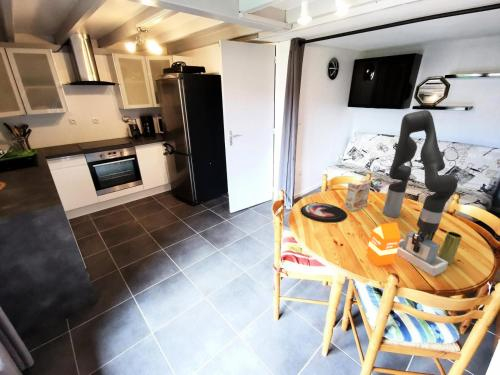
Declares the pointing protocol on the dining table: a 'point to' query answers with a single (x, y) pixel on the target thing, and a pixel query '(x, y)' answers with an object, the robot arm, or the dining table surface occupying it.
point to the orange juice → (384, 244)
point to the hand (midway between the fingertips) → (419, 250)
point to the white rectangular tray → (432, 269)
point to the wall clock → (324, 212)
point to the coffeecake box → (357, 194)
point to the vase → (450, 247)
